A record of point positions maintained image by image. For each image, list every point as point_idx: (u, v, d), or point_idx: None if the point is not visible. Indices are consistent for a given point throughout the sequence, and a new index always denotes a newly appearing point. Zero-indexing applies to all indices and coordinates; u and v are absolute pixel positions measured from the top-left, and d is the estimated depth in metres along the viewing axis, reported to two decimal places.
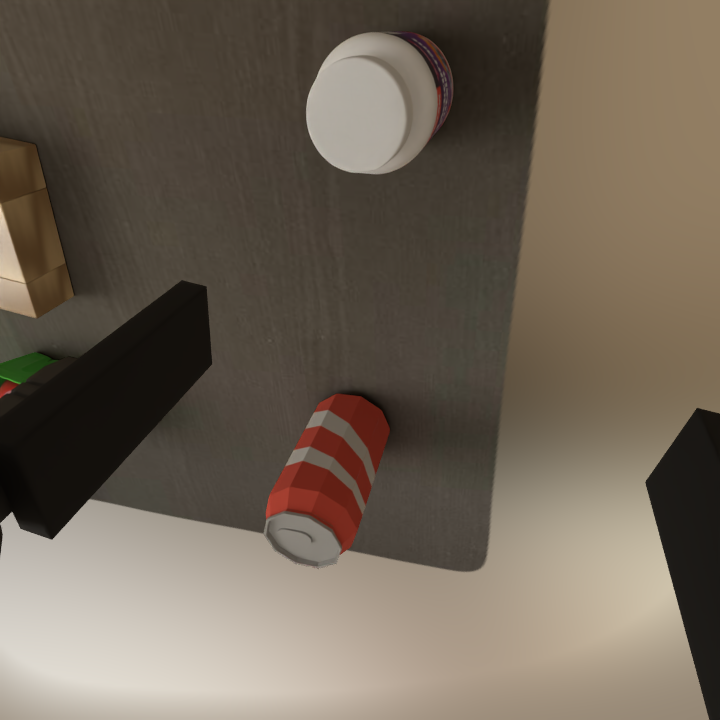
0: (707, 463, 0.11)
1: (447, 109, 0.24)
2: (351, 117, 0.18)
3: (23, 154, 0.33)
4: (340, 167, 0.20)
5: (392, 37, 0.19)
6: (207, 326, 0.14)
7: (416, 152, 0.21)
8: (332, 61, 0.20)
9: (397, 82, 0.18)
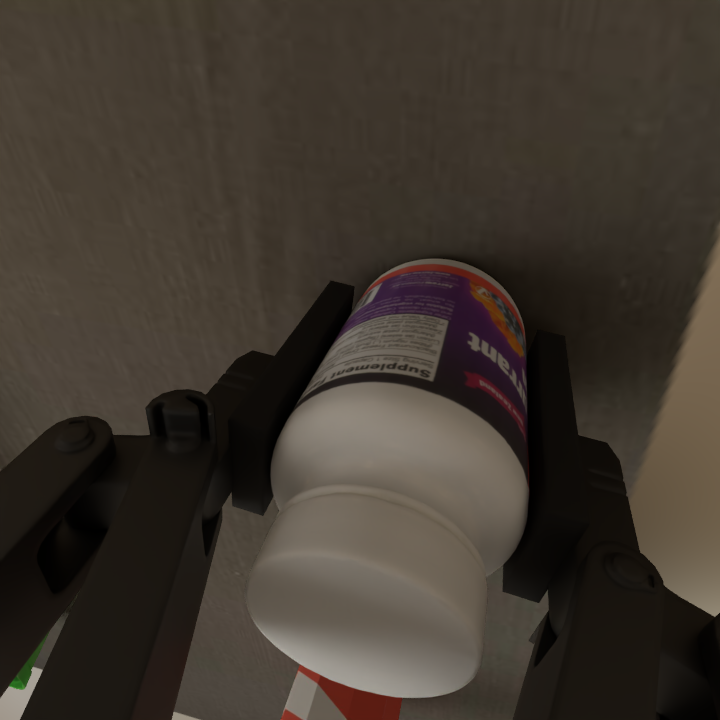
0: (534, 369, 0.13)
1: None
2: (346, 631, 0.08)
3: None
4: (324, 676, 0.09)
5: (439, 415, 0.09)
6: None
7: None
8: (307, 443, 0.09)
9: (463, 612, 0.07)
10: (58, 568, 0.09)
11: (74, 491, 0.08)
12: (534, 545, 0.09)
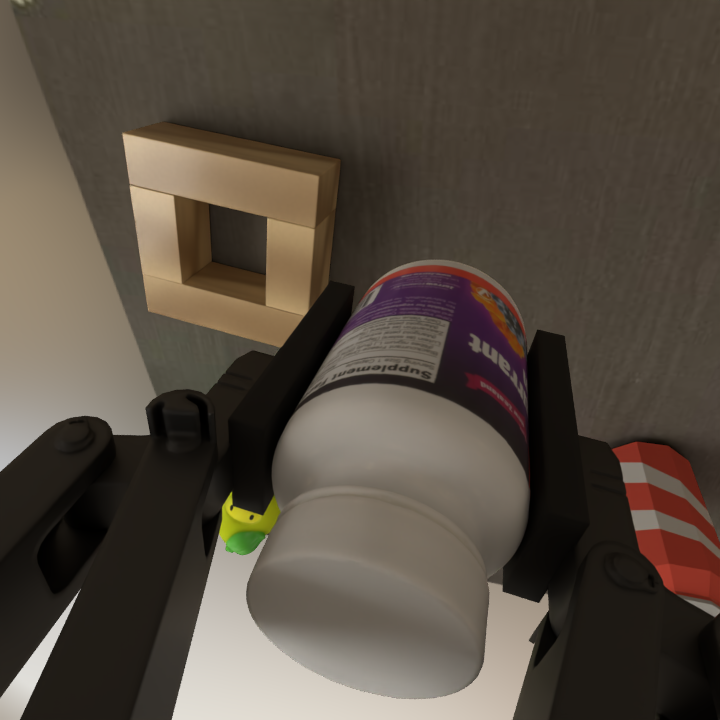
0: (534, 369, 0.13)
1: None
2: (348, 633, 0.08)
3: (334, 171, 0.29)
4: (325, 677, 0.09)
5: (441, 417, 0.09)
6: None
7: None
8: (308, 445, 0.09)
9: (464, 613, 0.07)
10: (58, 568, 0.09)
11: (74, 491, 0.08)
12: (534, 545, 0.09)
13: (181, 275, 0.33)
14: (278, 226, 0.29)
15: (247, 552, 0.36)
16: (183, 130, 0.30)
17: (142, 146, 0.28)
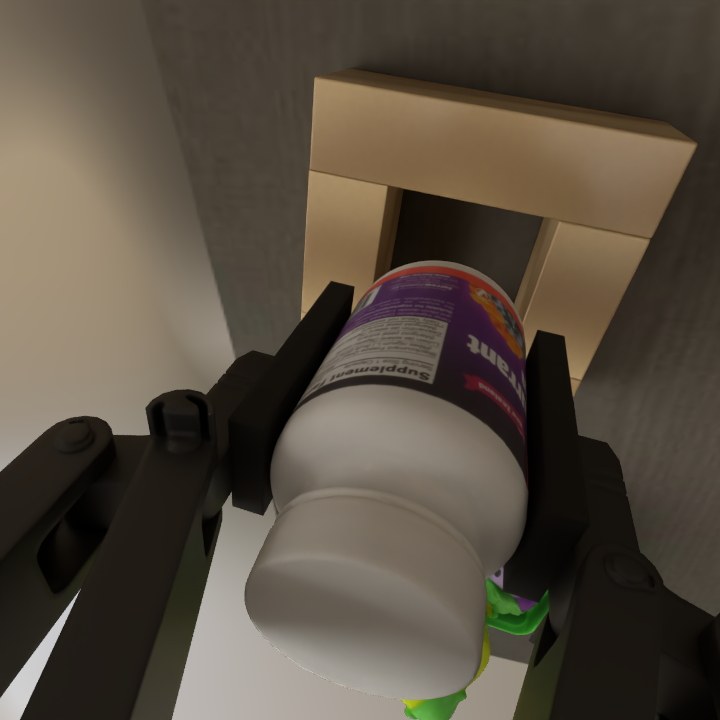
0: (534, 369, 0.13)
1: None
2: (346, 633, 0.08)
3: None
4: None
5: (439, 418, 0.09)
6: None
7: None
8: (306, 446, 0.09)
9: (462, 615, 0.07)
10: (58, 568, 0.09)
11: (74, 491, 0.08)
12: (534, 545, 0.09)
13: None
14: (577, 236, 0.17)
15: None
16: (395, 78, 0.18)
17: (348, 100, 0.16)
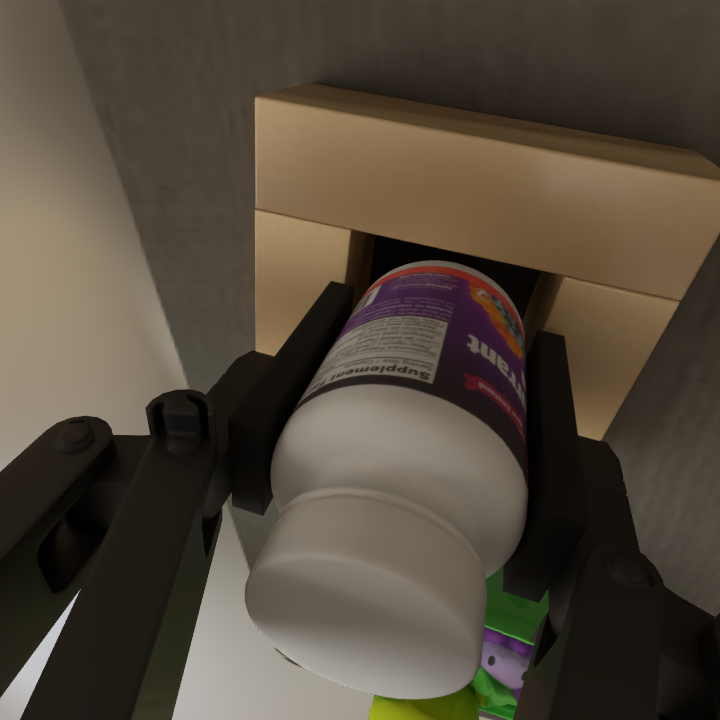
0: (534, 369, 0.13)
1: None
2: (347, 633, 0.08)
3: None
4: (324, 677, 0.09)
5: (439, 417, 0.09)
6: None
7: None
8: (306, 446, 0.09)
9: (462, 614, 0.07)
10: (58, 568, 0.09)
11: (74, 491, 0.08)
12: (534, 545, 0.09)
13: None
14: (587, 295, 0.13)
15: None
16: (361, 96, 0.15)
17: (298, 126, 0.13)
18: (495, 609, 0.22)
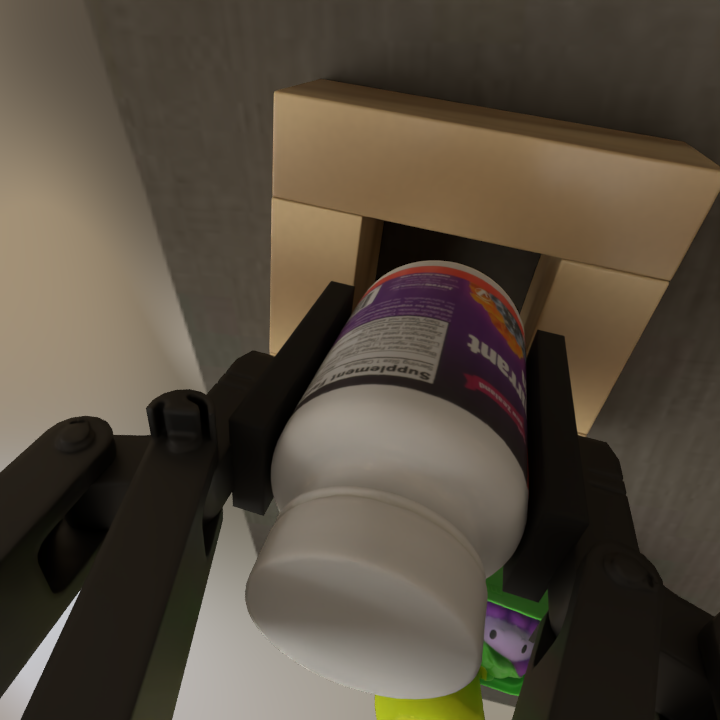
0: (533, 369, 0.13)
1: None
2: (347, 633, 0.08)
3: None
4: (324, 677, 0.09)
5: (439, 417, 0.09)
6: None
7: None
8: (307, 446, 0.09)
9: (462, 614, 0.07)
10: (58, 568, 0.09)
11: (74, 491, 0.08)
12: (534, 545, 0.09)
13: None
14: (583, 276, 0.14)
15: None
16: (371, 91, 0.16)
17: (314, 118, 0.14)
18: (496, 585, 0.23)
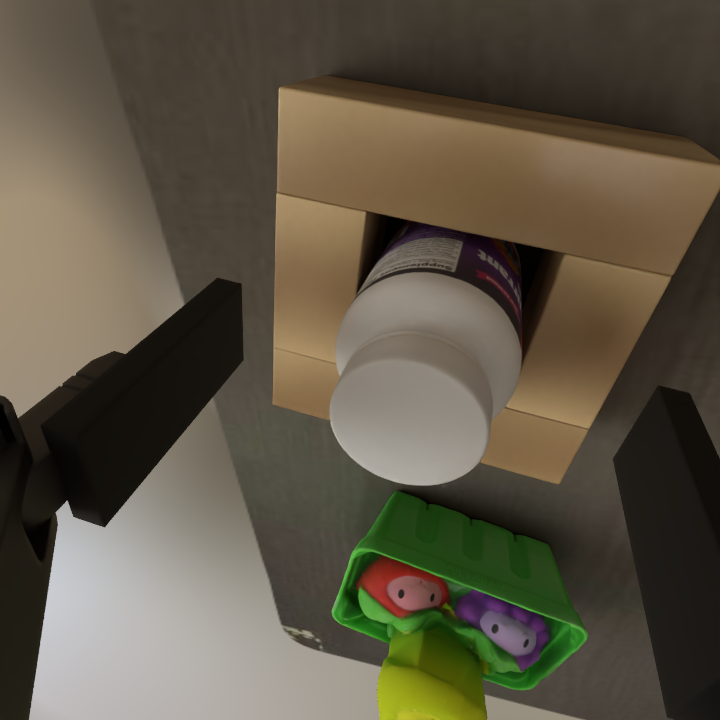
0: (664, 435, 0.11)
1: None
2: (399, 426, 0.12)
3: None
4: (379, 475, 0.13)
5: (460, 289, 0.13)
6: (240, 322, 0.15)
7: None
8: (367, 315, 0.13)
9: (477, 397, 0.11)
10: None
11: None
12: None
13: None
14: (586, 271, 0.14)
15: None
16: (375, 87, 0.16)
17: (319, 114, 0.14)
18: (498, 579, 0.23)
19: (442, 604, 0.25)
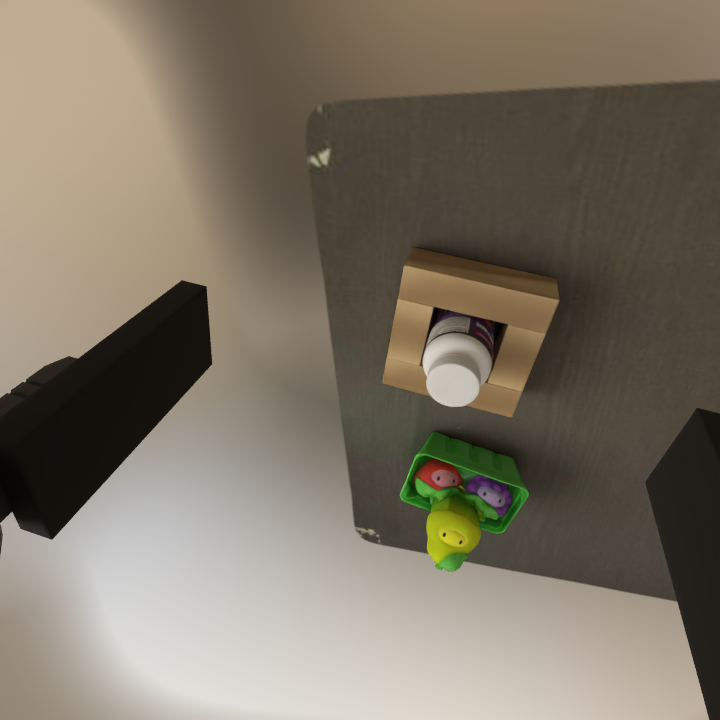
0: (707, 463, 0.11)
1: None
2: (450, 385, 0.37)
3: None
4: (442, 403, 0.38)
5: (470, 340, 0.37)
6: (207, 326, 0.14)
7: None
8: (437, 348, 0.38)
9: (475, 375, 0.36)
10: None
11: None
12: None
13: (420, 359, 0.43)
14: (516, 330, 0.39)
15: (456, 569, 0.47)
16: (436, 257, 0.40)
17: (418, 274, 0.39)
18: (486, 469, 0.48)
19: (458, 485, 0.50)
